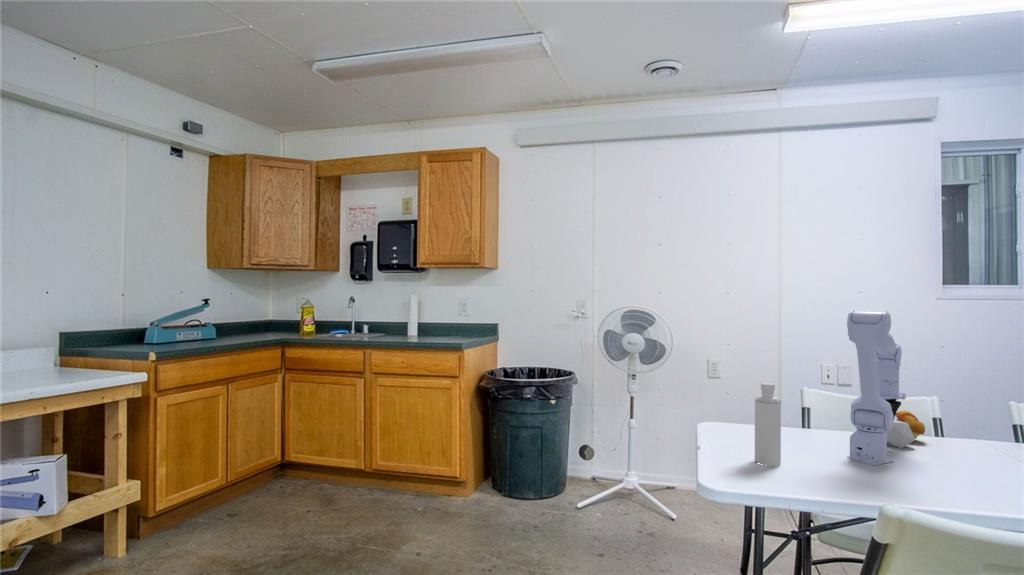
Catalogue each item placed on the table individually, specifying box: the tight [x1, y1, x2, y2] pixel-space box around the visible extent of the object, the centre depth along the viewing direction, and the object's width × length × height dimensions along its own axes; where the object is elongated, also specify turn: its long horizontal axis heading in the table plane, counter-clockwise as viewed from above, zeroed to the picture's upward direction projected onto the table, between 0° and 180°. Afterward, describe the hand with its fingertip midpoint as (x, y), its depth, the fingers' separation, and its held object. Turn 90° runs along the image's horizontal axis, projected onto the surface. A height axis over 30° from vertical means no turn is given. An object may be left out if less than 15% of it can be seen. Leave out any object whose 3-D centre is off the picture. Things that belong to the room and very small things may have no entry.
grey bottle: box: [754, 382, 782, 467], centre depth 153 cm, size 7×7×25 cm
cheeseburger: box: [895, 410, 926, 440], centre depth 182 cm, size 10×11×10 cm
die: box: [887, 419, 916, 449], centre depth 174 cm, size 8×9×10 cm
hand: (888, 423), depth 172 cm, fingers closed
